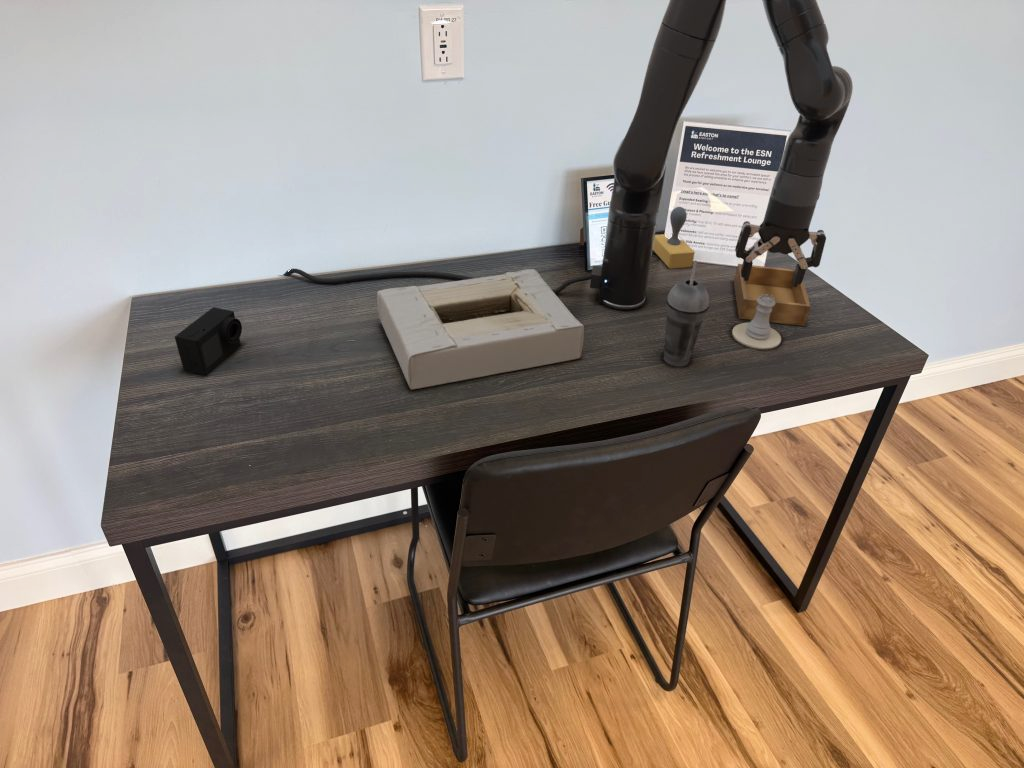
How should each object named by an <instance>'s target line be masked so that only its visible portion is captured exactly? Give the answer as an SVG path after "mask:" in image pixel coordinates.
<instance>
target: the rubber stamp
mask: <svg viewBox="0 0 1024 768" xmlns="http://www.w3.org/2000/svg"><path fill="white" fill-rule="evenodd" d="M687 216H688V214H687V211H686V209H685V208H684V207H682V206H676V207H674V208H673V209H672V211H671V212H670V217H669V219H670V220H669V222H670V226H671V232H672V233H671V234H672V237H671V238H670V239H668V238H666V237H665V234H666V233H664V234H655V237H654V244H653V250H652V251H653V252H654V253H655V254H656V256H658V258H660V260H661V262H663V263H664V264H665V266H667V268H669V270H670V269H672V270H673V269H683V268H692V267H693V264H694V260H695V259H694V257H695V253H696V252H695V250H693V249H692V247H691V246H689V244H687V242H686V241H685V240H683V241H680V240H679V239H678V236H679V234H680V231H681V230H682V229H683V226H684V225H685V223H686V221H687V218H688V217H687Z"/></svg>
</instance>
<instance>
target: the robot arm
mask: <svg viewBox="0 0 1024 768" xmlns="http://www.w3.org/2000/svg"><path fill="white" fill-rule="evenodd" d="M726 4H727V0H669V3H668V5H667V7H666V10H665V12H664V15H663V17H662V20H661V23H660V25H659V29H658V31H657V34H656V37H655V40H654V42H653V43H654V44H653V46H652V49H651V52H650V56H649V60H648V62H647V63H648V64H647V67H646V71H645V75H644V79H643V84H642V88H641V93H640V96H639V100H638V104H637V107H636V110H635V113H634V115H633V118H632V120H631V122H630V125H629V127H628V129H627V132H626V133H625V135H624V137H623V138H622V140H620V142H619V145H618V147H617V150H616V152H615V154H614V155H613V156H614V157H613V161H612V170H613V176H614V178H613V187H612V191H611V195H610V196H611V197H610V201H609V206H608V215H607V226H606V234H605V241H604V242H605V243H604V250H603V258H602V262H601V263H602V264H601V265H592V269H591V274H585V275H582V276H581V275H580V276H577V277H573V278H570V279H568V280H566V281H564V282H563V283H562V284H560V285H559V286H558V287H556V288H555V289H551V290H552V291H553V292H554V293H555V295H556V294H559V293H561V292H562V291H563V290H565V289H566V288H567V287H568V286H570V285H573V284H577V283H580V282H584V281H589V280H590V281H589V288H590V289H597V290H599V291H598V299H597V303H598V304H602V305H605V306H607V307H609V308H611V309H615V310H622V311H629V310H630V311H631V310H636V309H639V308H641V307H642V306H644V304H645V303H646V294H647V288H648V282H649V275H650V269H651V261H652V255H653V251H654V250H653V244H654V237H655V235H656V231H657V223H658V219H659V212H660V207H661V201H662V198H663V197H662V195H663V189H664V182H665V178H666V171H667V166H668V165H667V164H668V159H669V158H668V156H669V151H670V147H671V145H672V140H673V137H674V134H675V131H676V129H677V126H678V123H679V121H680V118H681V117H682V114H683V113H684V110H685V108H686V107H687V105H688V103H689V101H690V99H691V98H692V96H693V93H694V91H695V89H696V88H697V85H698V83H699V81H700V79H701V76H702V75H703V72H704V71H705V68H706V66H707V65H708V61H709V59H710V57H711V54H712V51H713V49H714V47H715V44H716V42H717V40H718V36H719V33H720V31H721V27H722V23H723V19H724V15H725V10H726ZM762 6H763V9H764V14H765V16H766V19H767V22H768V26H769V28H770V31H771V33H772V36H773V38H774V40H775V43H776V46H777V48H778V51H779V53H780V55H781V57H782V61H783V66H784V73H785V79H786V83H787V87H788V93H789V95H790V99H791V102H792V105H793V107H794V108H795V110H796V112H797V113H798V114H799V116H798V119H797V123H796V125H795V127H794V129H793V130H792V131H791V133H790V134H789V136H788V137H787V140H786V143H785V145H784V149H783V152H782V156H781V160H780V164H779V167H778V170H777V172H776V174H775V177H774V179H773V183H772V187H771V192H770V195H769V200H768V203H767V207H766V210H765V214H764V217H763V219H762V222H761V223H760V224H759V225H758V224H752V223H751V222H750V221H748V220H746V221H743V223H742V226H741V228H740V233H739V236H738V239H737V241H736V245H735V248H734V251H735V257H736V258H737V259H742V260H743V261H742V263H741V264H742V268H741V276H742V277H743V279H744V281H748V279H749V276H750V272H751V268H752V265H754V264H753V261H754V260H755V259H757V258H758V257H759V256H762V255H764V254H765V253H766V252H769V253H770V254H771V253H772V254H777V253H778V254H779V253H780V254H782V255H787V256H788V255H789V254H791V253H793V256H794V257H795V259H796V261H797V263H796V265H795V269H794V270H795V271H794V275H793V278H792V287H797V285H798V284H799V285H800V284H801V283H802V281H803V282H804V278H805V275H806V271H807V270H808V269H809V268H818V267H820V265H821V262H822V261H821V260H822V257H823V253H824V249H825V245H826V241H827V236H826V233H825V231H824V230H823V229H819V230H817V231H810V226H811V223H812V220H813V217H814V213H815V210H816V206H817V203H818V201H819V199H820V195H821V190H822V187H823V181H824V180H823V179H824V175H825V171H826V169H827V165H828V163H829V159H830V155H831V151H832V147H833V144H834V141H835V139H836V136H837V134H838V132H839V130H840V128H841V125H842V123H843V120H844V118H845V115H846V113H847V110H848V107H849V106H850V103H851V99H852V96H853V91H854V90H853V89H854V85H853V80H852V76H851V74H849V72H848V71H847V70H846V69H844V68H843V67H841V66H836V65H832V62H831V58H830V55H829V52H828V44H829V40H830V36H829V31H828V28H827V25H826V23H825V19H824V17H823V14H822V11H821V9H820V6H819V4H818V1H817V0H762ZM757 233H758V235H759V239H758V240H757V241H755V242H754V243H753V245H752V246H750V247H749V248H748V249H746V247H747V244H748V241H749V238H753V237H754V235H755V234H757ZM808 240H810V242H811V244H812V245H813V246H812V250H811V253H810V256H809V257H806V256H805V254H804V252H803V249H802V248H801V246H802V245H804V244H805V243H806V242H807V241H808ZM290 269H291V270H290ZM290 269H289V270H290V271H289V272H288V270H286V271H285V272H284V273H283V276H284V277H288V276H290V275H293V274H297V275H299V276H301V277H303V278H306V279H307V280H308V281H312V282H314V283H320V284H338V283H346V282H353V281H362V280H363V281H364V280H374V279H383V278H394V277H395V278H396V277H434V278H445V279H454V280H458V281H460V280H467V279H475V278H476V277H472V276H469V275H468V276H467V275H463V274H457V273H449V272H438V271H418V270H417V271H390V272H379V273H367V274H358V275H350V276H344V277H334V278H323V277H317V276H314V275H312V274H310V273H308V272H306V271H303V270H302V269H299V268H290Z"/></svg>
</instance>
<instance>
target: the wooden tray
mask: <svg viewBox="0 0 1024 768" xmlns="http://www.w3.org/2000/svg"><path fill="white" fill-rule="evenodd" d="M742 264H743V263H737V267H736V271H735V275H734V279H733V287H734V294H735V300H736V307H737V315H738V319H741V320H750V321H752V320H753V319H754V317H755V314H756V312H757V308H756V307H757V306H758V305H759V304H758V302H757V299H759V298H760V296H761V295H762V294H764V296H765V295H766V294H768V297H770V296H771V295H772V296H773V298H774V301H775V305H774V306H773V307H772V308H771V309H772V312H770V316H769V323H775V324H782V325H783V324H785V325H792V326H802V327H806V323H807V320H808V317H809V314H810V311H811V308H812V306H811V302H810V299H809V296H808V293H807V290H806V287H805V283H804V280H803V281H802V283H801V284H800V285H799V284H798V285H797V287H792V278H793V275H794V271H795V269H790V268H784V267H783V268H782V267H773V266H763V265H762V266H761V265H755V264H752V268H751V272H750V276H749V279H748V281H744V279H743V277H742V276H741V268H742Z"/></svg>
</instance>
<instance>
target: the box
mask: <svg viewBox="0 0 1024 768" xmlns="http://www.w3.org/2000/svg"><path fill="white" fill-rule="evenodd" d="M474 278H475V279H467V280H456V281H447V282H440V283H432V284H426V285H419V286H417V285H411V286H405V287H404V286H403V287H402V286H401V287H391V288H390V287H389V288H385V289H381V290H378V291H377V293H376V303H377V311H378V316H379V317H378V318H379V321H380V324H381V326H382V327H383V330H384V332H385V334H386V337H387V339H388V341H389V344H390V346H391V348H392V350H393V354H394V355H395V358H396V359H397V362H398V364H399V366H400V368H401V371H402V374H403V376H404V379H405V381H406V382H407V385H408V387H409V390H417V389H422V388H429V387H434V386H439V385H445V384H451V383H454V382H460V381H466V380H472V379H476V378H483V377H487V376H493V375H497V374H502V373H509V372H514V371H519V370H524V369H531V368H536V367H542V366H546V365H552V364H556V363H557V364H559V363H562V362H563V363H564V362H568V361H573V360H578V359H581V358H582V357H581V356H582V354H583V346H584V340H585V327H584V324H583V323H582V322H581V321H579V320H578V319H577V318H576V317H575V316H574V315H573V314H572V312H571V311H570V310H569V309H568V308H567V306H566V305H565V304H564V303H563V301H562V300H561V299H560V298H559V297H558V296H557V295H556V294H555V293H554V292H553V291H552V290H553V289H552V288H551V287H550V286H549V285H548V284H547V282H546V281H545V280H544V279H543V278H542V276H541V275H540V273H539V272H538V271H537V270H536V269H534V268H526V269H521V270H517V271H508V272H505V273H503V274H497V275H490V276H489V275H488V276H482V277H474Z"/></svg>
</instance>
